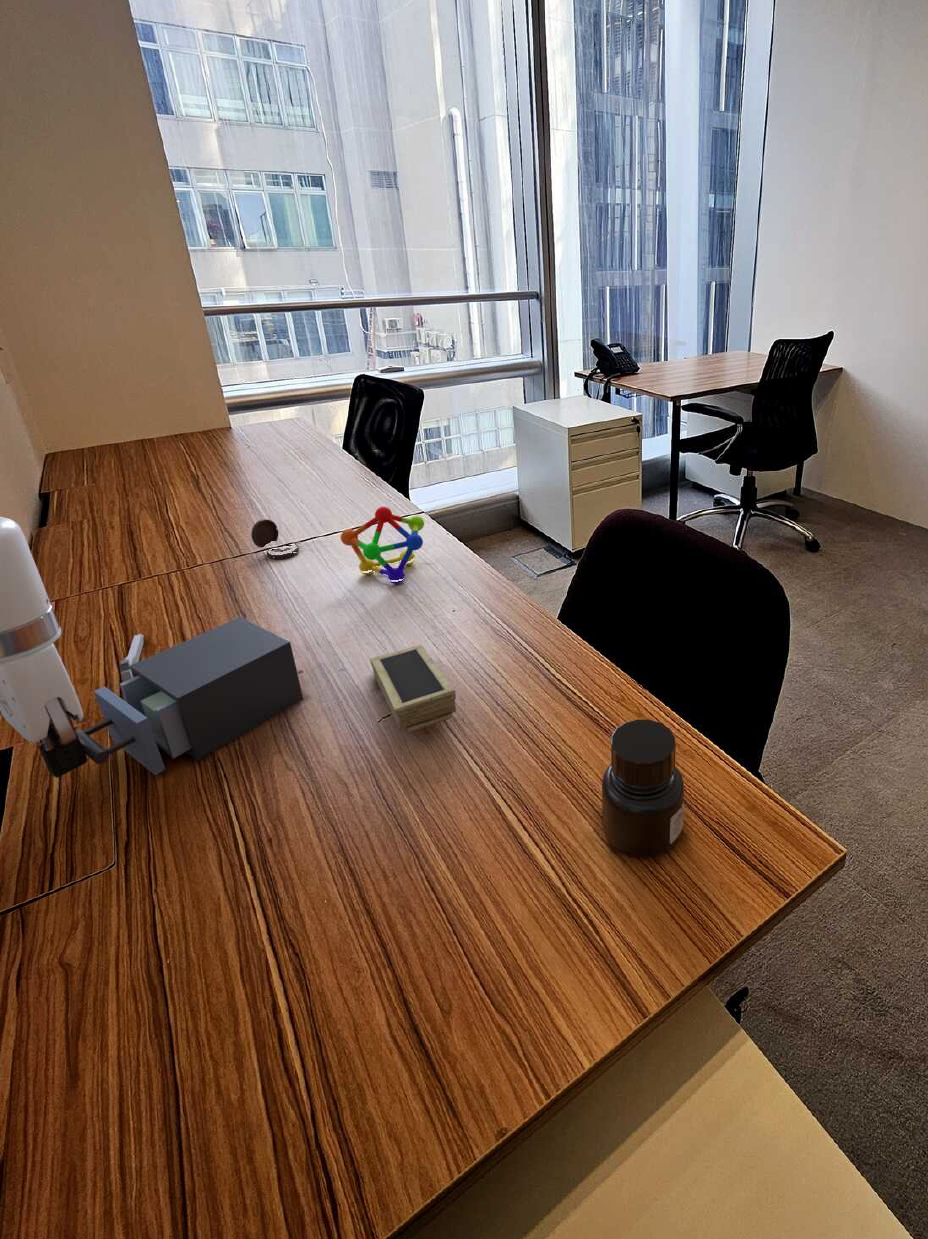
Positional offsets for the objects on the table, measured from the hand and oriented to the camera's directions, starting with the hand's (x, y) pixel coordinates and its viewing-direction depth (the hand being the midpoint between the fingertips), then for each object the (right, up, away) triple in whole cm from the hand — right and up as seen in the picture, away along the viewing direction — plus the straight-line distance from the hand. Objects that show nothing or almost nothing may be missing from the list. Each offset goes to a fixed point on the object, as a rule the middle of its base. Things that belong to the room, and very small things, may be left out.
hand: (69, 767), depth 76 cm
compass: (-8, +22, +64) cm, 68 cm away
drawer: (+6, 0, +9) cm, 11 cm away
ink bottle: (+67, -6, -3) cm, 67 cm away
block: (+6, +2, +10) cm, 11 cm away
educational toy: (+20, +17, +53) cm, 59 cm away
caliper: (-10, +6, +25) cm, 27 cm away
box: (+34, +3, +18) cm, 39 cm away
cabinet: (+9, +2, +15) cm, 18 cm away
